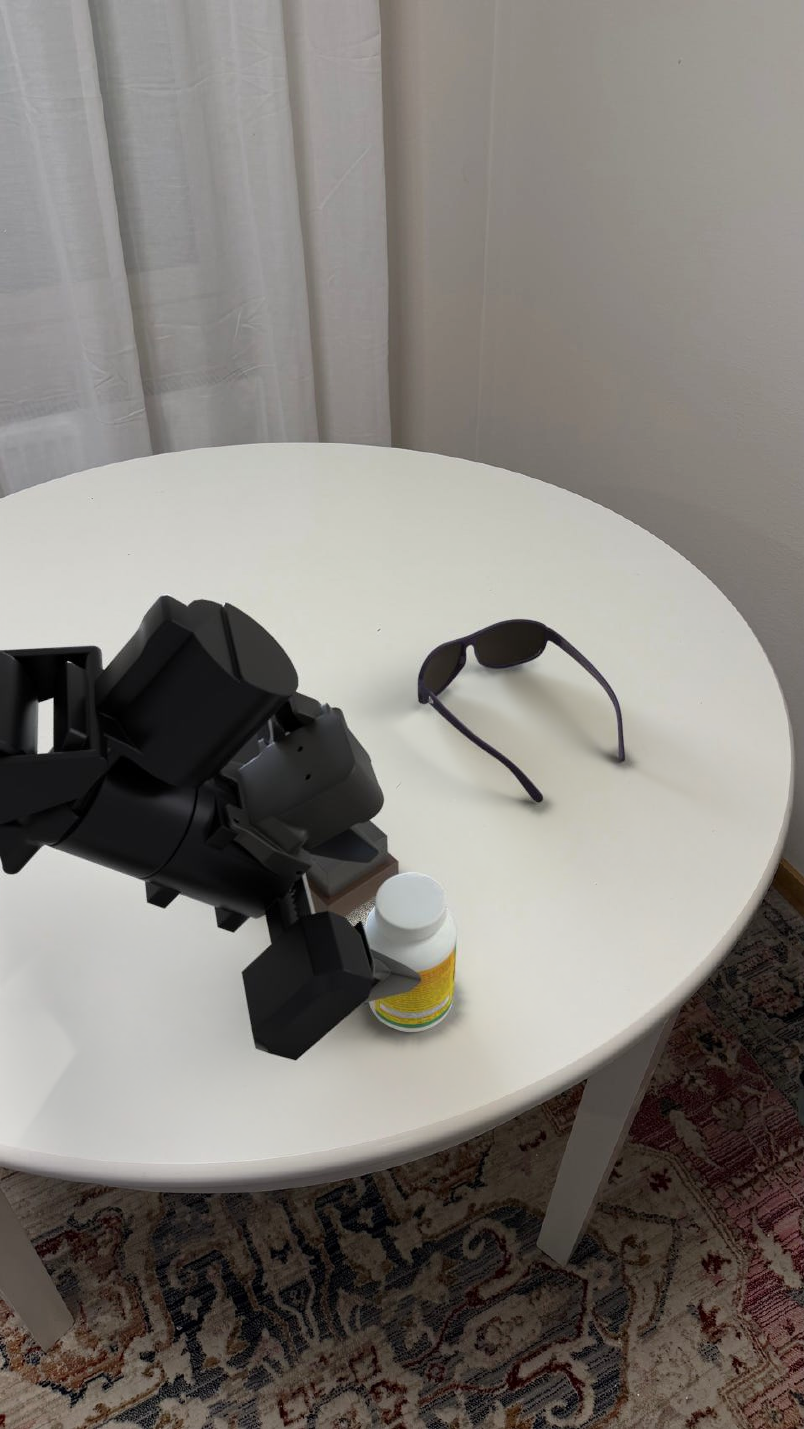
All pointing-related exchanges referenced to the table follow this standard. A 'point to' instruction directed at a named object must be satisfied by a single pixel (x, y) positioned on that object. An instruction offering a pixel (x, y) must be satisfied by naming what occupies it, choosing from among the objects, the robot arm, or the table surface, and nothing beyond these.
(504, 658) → the sunglasses
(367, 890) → the sharpening stone
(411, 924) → the supplement bottle
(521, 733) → the table surface
